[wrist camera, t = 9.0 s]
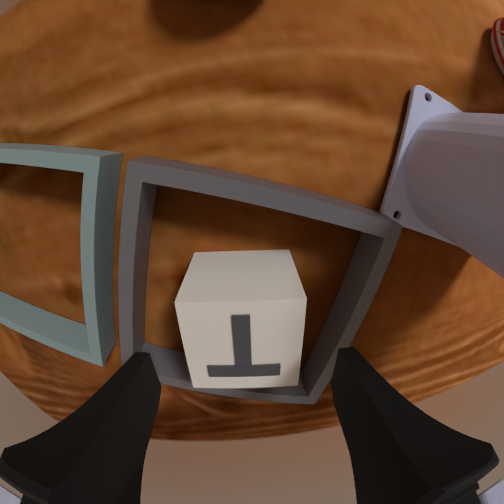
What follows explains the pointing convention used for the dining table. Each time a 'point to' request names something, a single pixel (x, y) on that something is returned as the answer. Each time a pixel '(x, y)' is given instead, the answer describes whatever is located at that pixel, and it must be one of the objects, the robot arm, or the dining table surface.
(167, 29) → the dining table surface
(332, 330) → the tray charcoal
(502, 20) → the beverage can
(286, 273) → the letter cube
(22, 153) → the teal square frame
